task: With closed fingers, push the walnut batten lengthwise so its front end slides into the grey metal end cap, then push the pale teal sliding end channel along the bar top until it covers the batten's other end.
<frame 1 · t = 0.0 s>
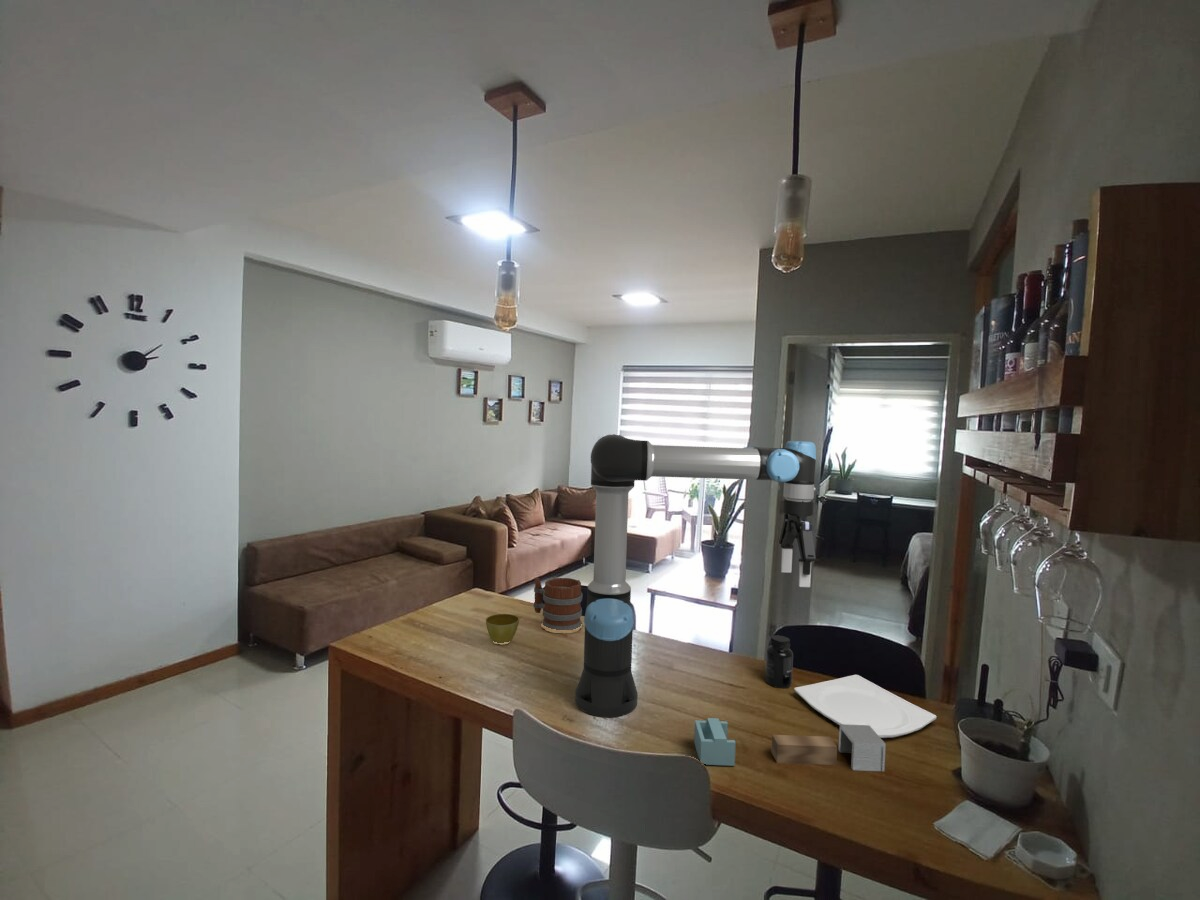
hand: (794, 579, 141), 28 cm above the table, fingers open, 13 cm apart
supplement bottle: (778, 683, 142), on the table
end cap A: (859, 760, 109), on the table
flower pot: (501, 642, 163), on the table
batten: (803, 759, 109), on the table
sliding cap B: (714, 740, 109), point 3 cm above the table, slide at 0.0 cm
plate: (861, 713, 129), on the table
mug: (555, 625, 179), on the table
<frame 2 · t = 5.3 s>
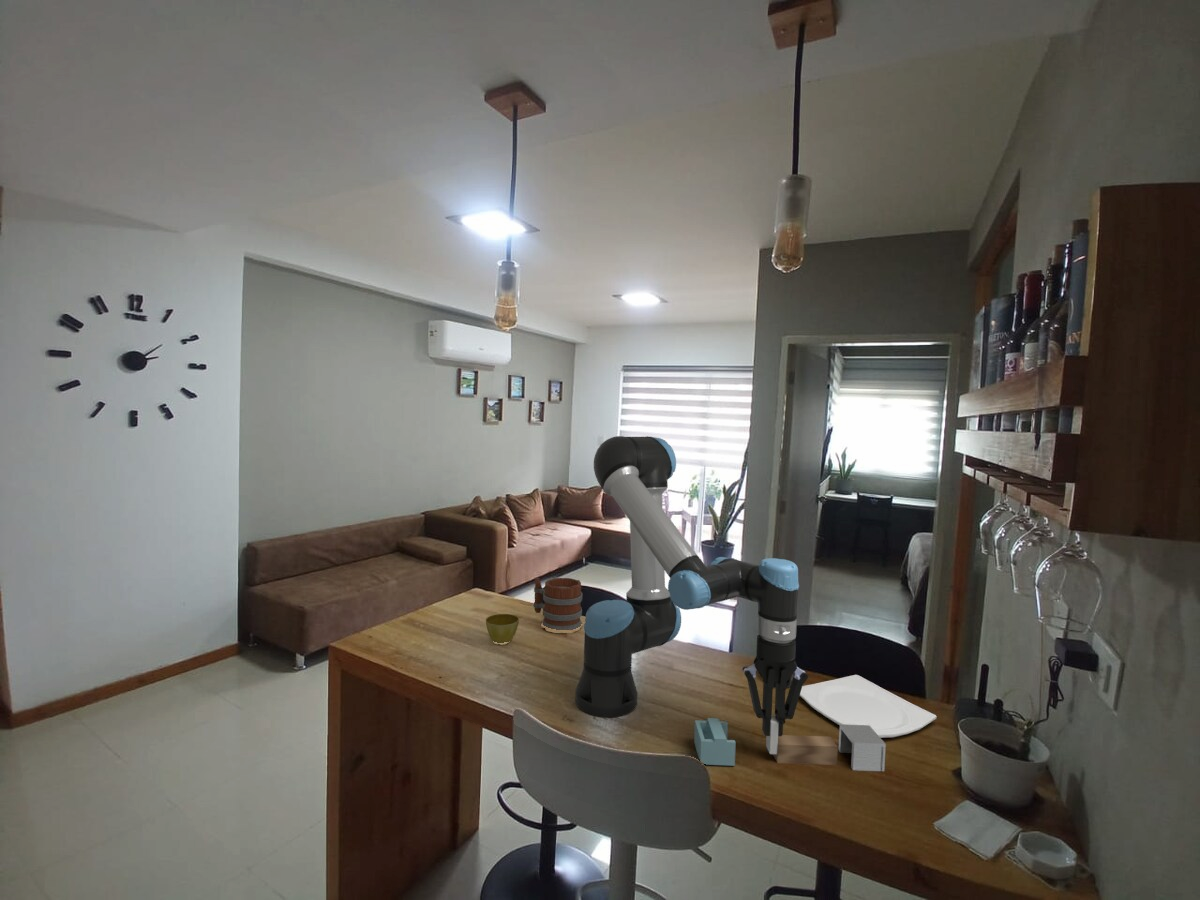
hand: (771, 750, 109), 2 cm above the table, fingers closed
batten: (803, 759, 109), on the table, touching gripper
everything else where it was.
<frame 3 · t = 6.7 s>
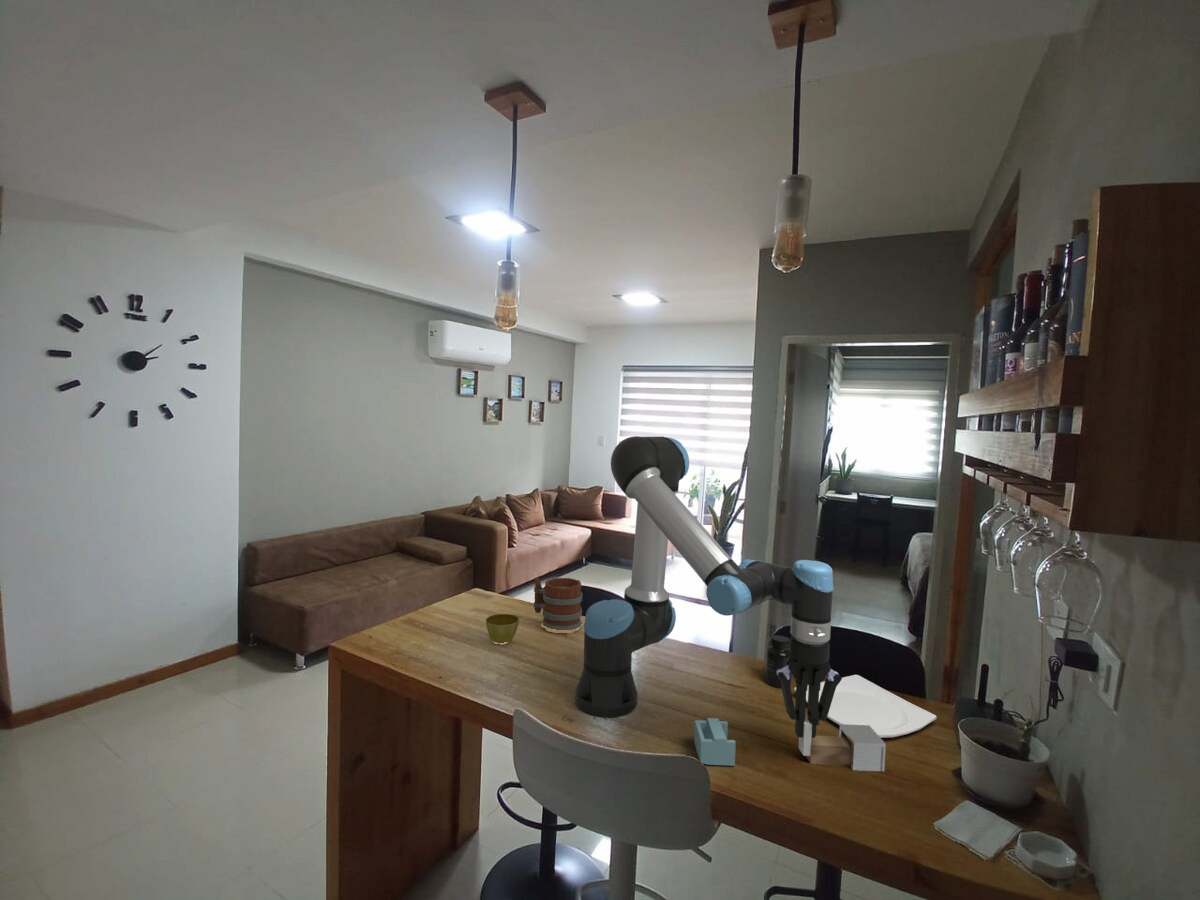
hand: (804, 751, 109), 1 cm above the table, fingers closed
batten: (836, 760, 109), on the table
everything else where it was.
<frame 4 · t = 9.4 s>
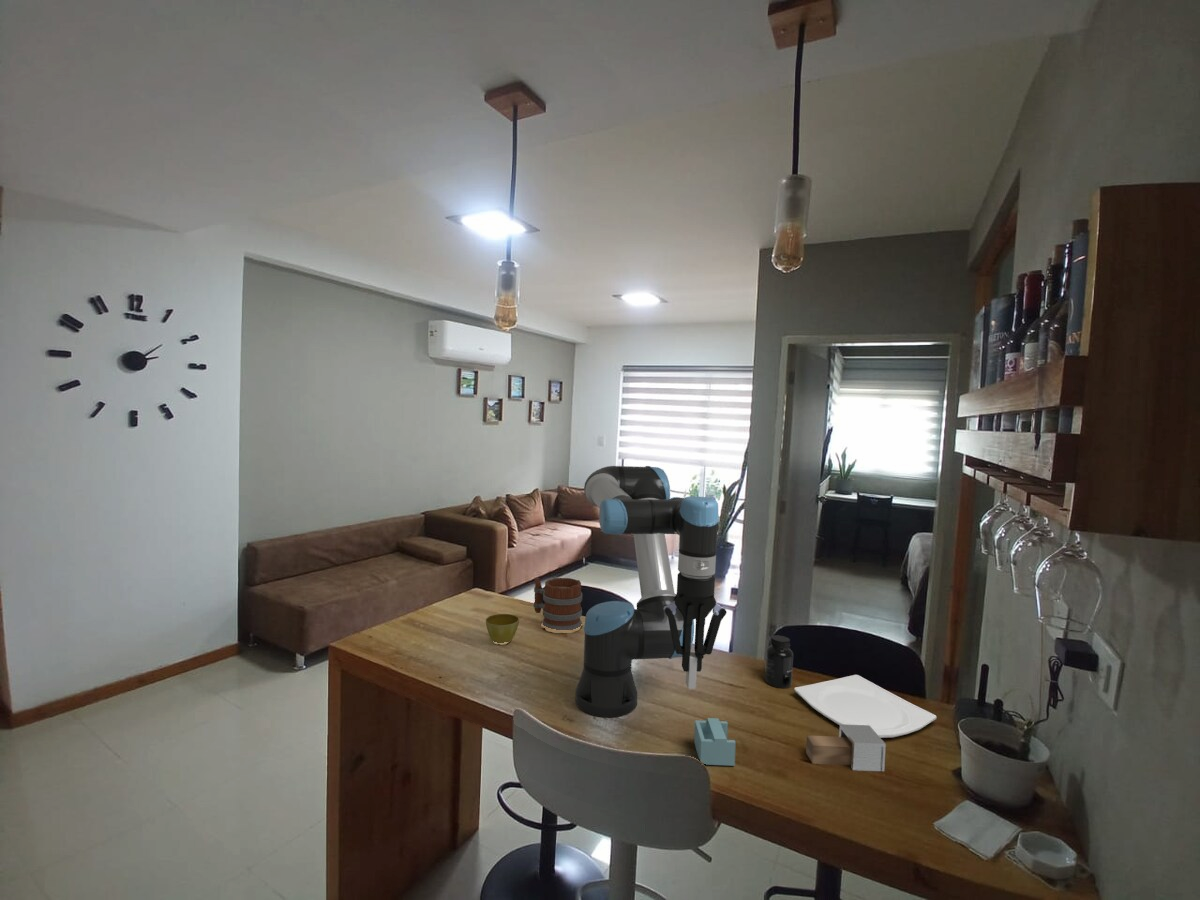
hand: (690, 685, 110), 14 cm above the table, fingers closed
nothing on the table moved.
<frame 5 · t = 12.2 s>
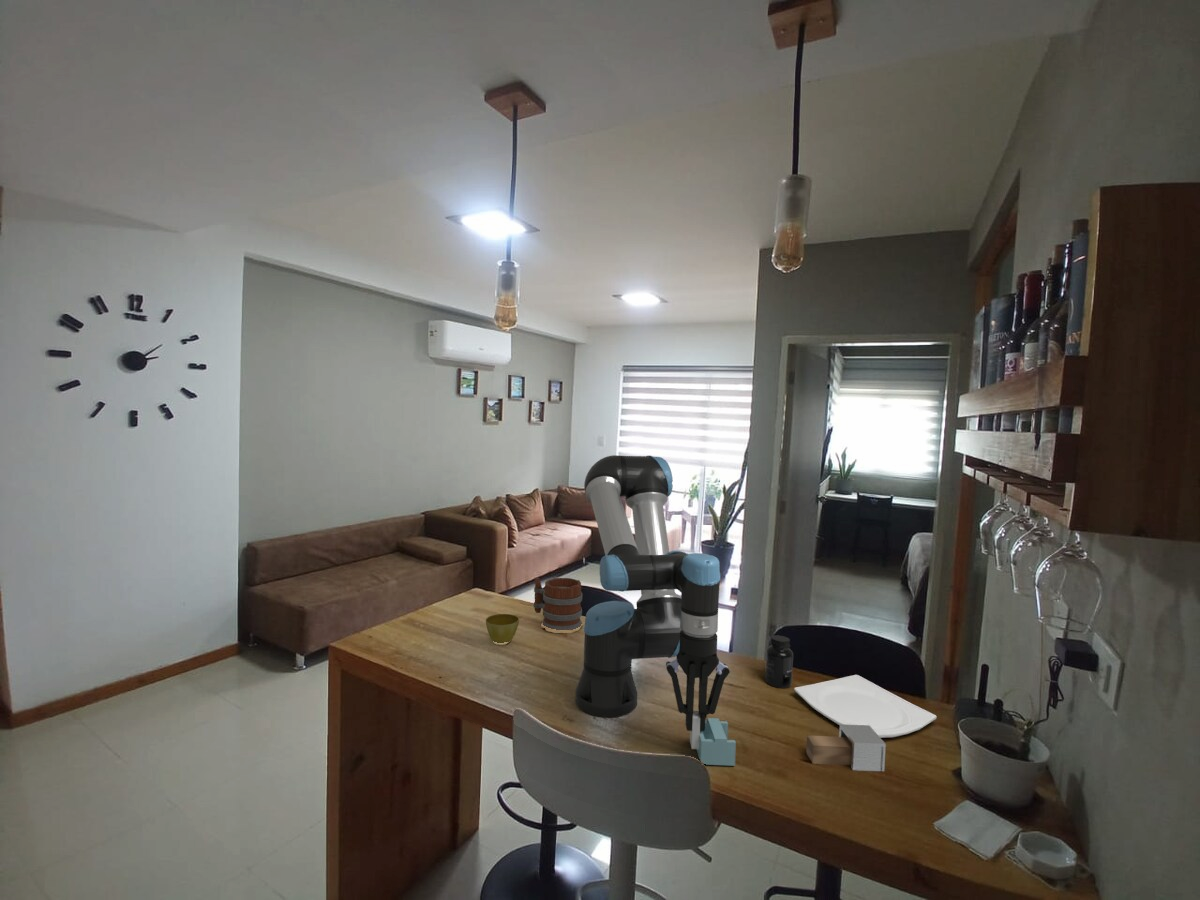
hand: (694, 745, 109), 2 cm above the table, fingers closed
sliding cap B: (714, 740, 109), point 3 cm above the table, slide at 0.1 cm, touching gripper
everything else where it was.
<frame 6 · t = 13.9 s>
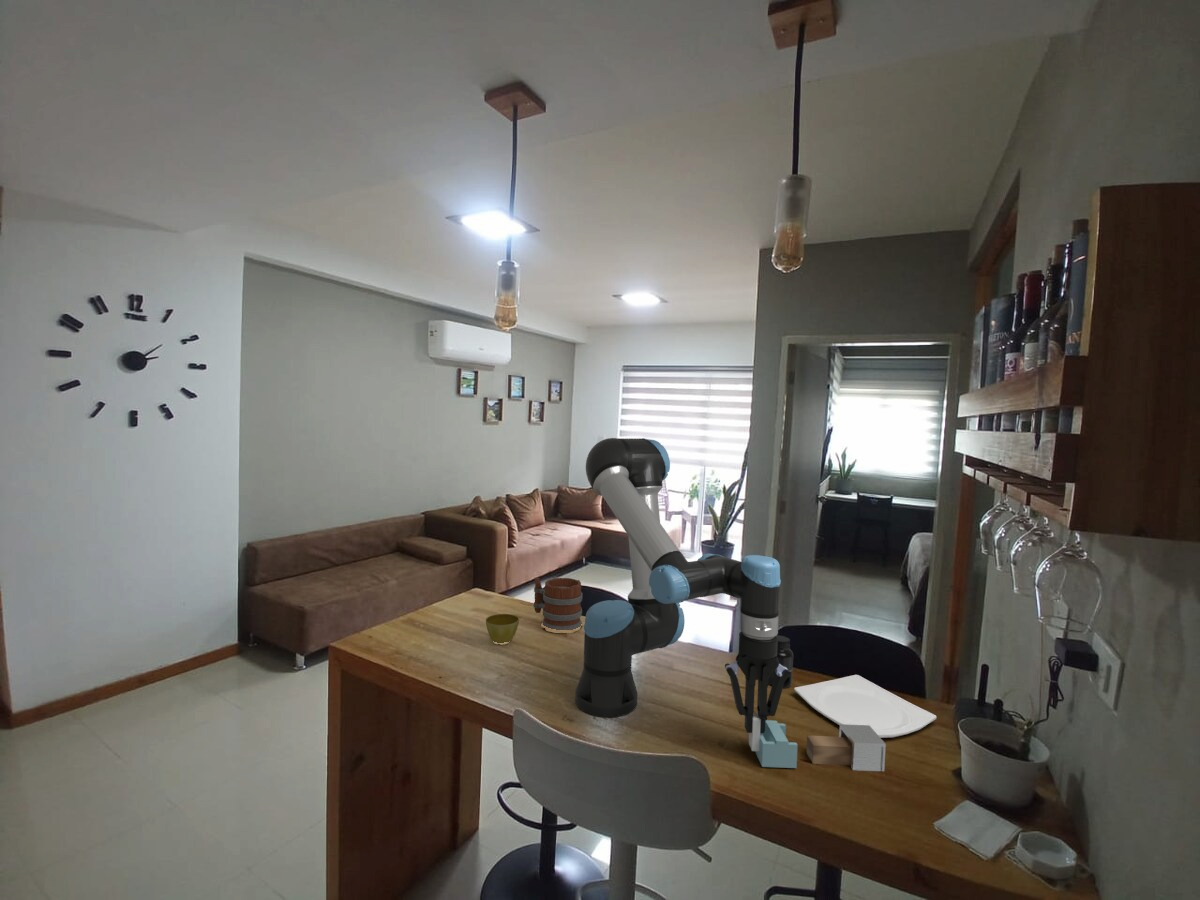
hand: (753, 747, 109), 2 cm above the table, fingers closed
sliding cap B: (773, 743, 109), point 3 cm above the table, slide at 12.2 cm, touching gripper
everything else where it was.
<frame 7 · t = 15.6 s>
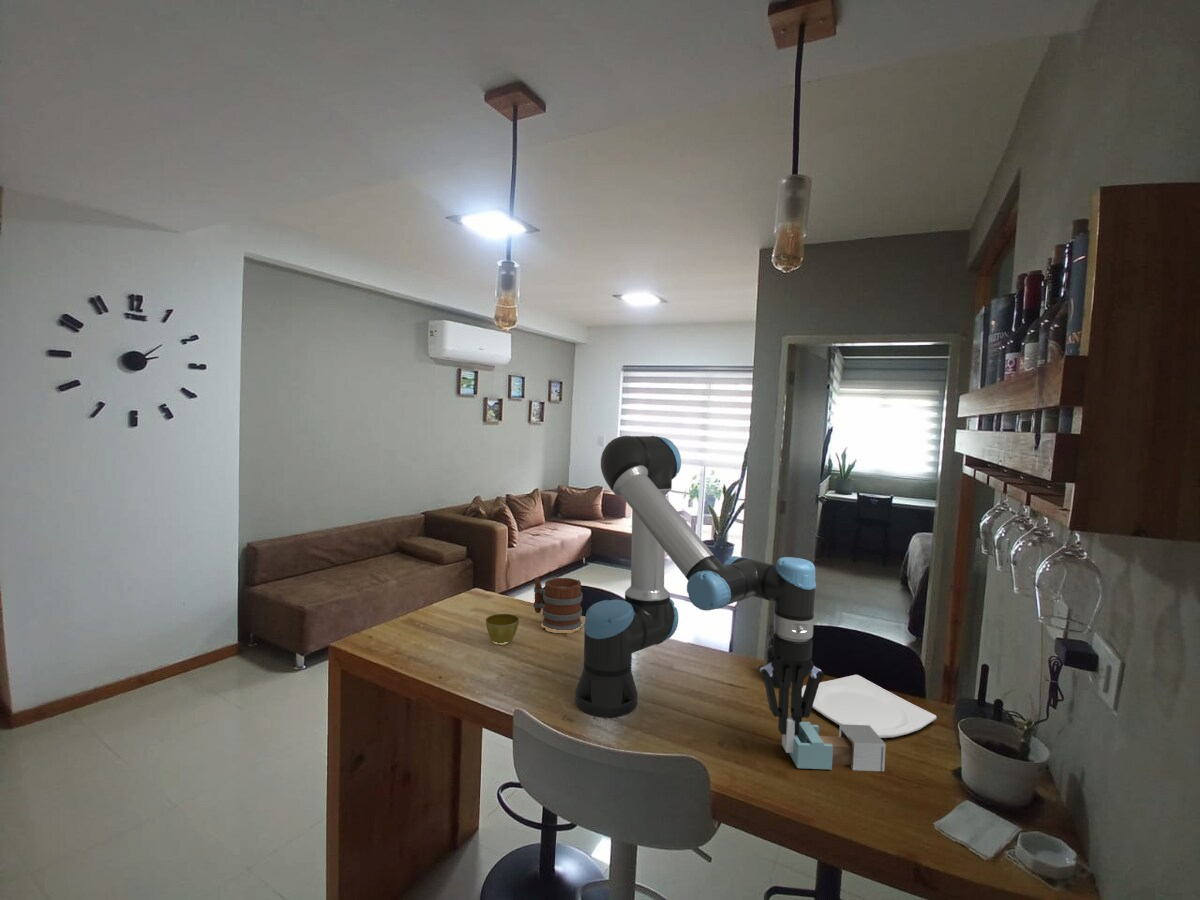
hand: (787, 748, 109), 2 cm above the table, fingers closed
sliding cap B: (808, 744, 109), point 3 cm above the table, slide at 19.2 cm, touching gripper
everything else where it was.
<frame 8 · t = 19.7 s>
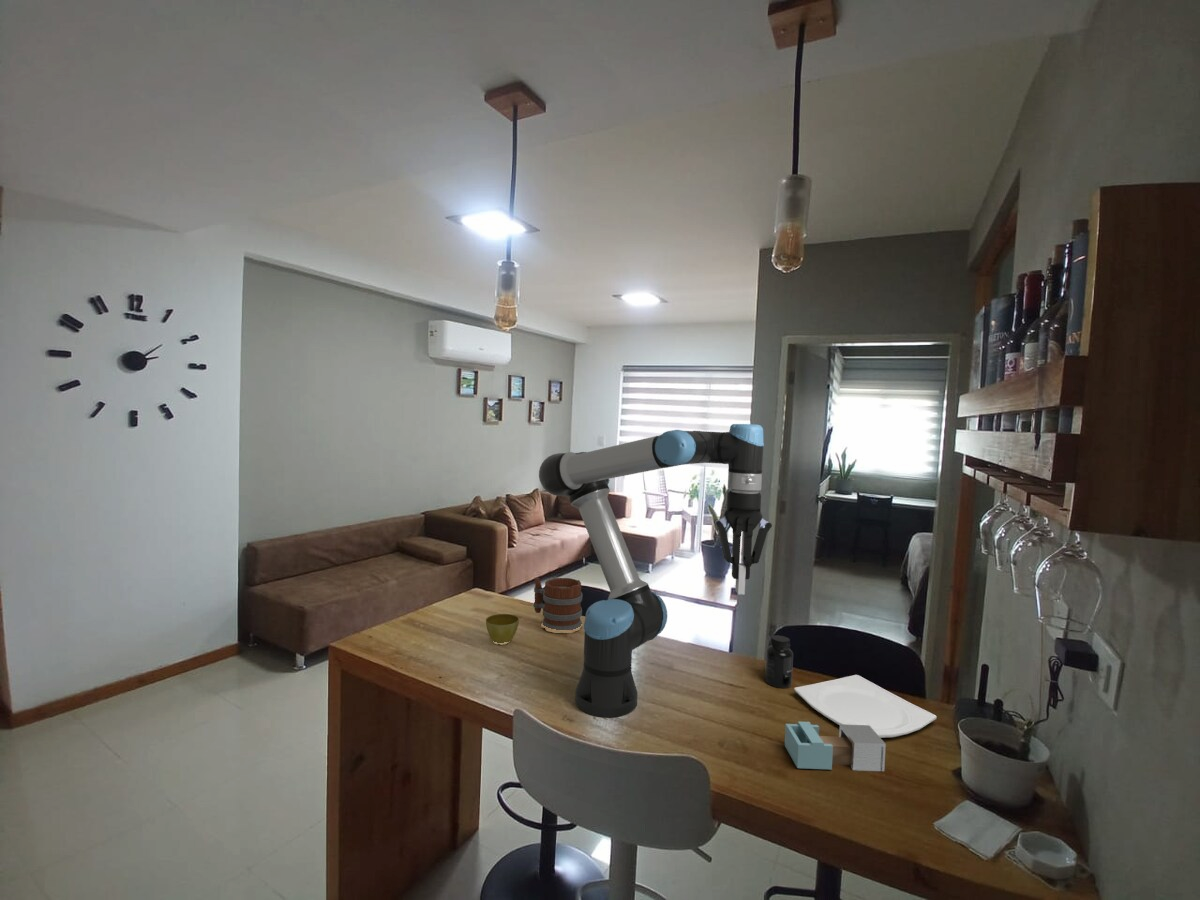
hand: (739, 592, 123), 29 cm above the table, fingers closed
sliding cap B: (808, 744, 109), point 3 cm above the table, slide at 19.2 cm
everything else where it was.
at the end: batten 0.1 cm from the target spot, on the table; sliding cap B slide at 19.2 cm; batten tilted 0° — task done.
